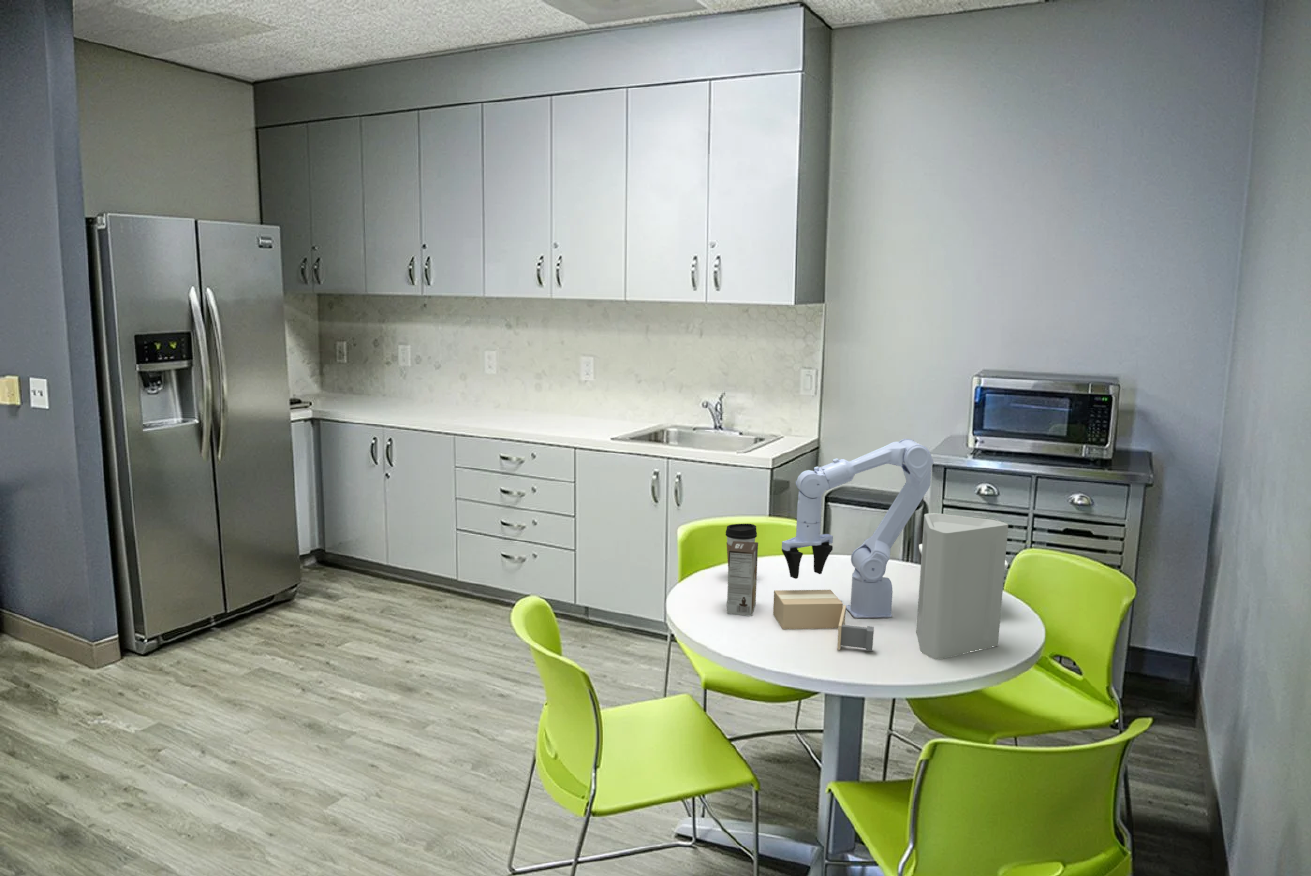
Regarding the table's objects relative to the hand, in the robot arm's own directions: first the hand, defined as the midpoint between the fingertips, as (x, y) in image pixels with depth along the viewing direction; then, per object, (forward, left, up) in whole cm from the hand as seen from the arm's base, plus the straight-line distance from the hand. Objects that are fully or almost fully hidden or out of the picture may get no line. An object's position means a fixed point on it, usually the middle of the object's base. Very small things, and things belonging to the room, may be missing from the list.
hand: (806, 575), depth 225 cm
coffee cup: (+11, -26, -10) cm, 30 cm away
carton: (+1, +6, -9) cm, 11 cm away
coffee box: (+15, -3, -10) cm, 18 cm away
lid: (-7, +19, -9) cm, 22 cm away
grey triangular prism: (-27, +20, -10) cm, 35 cm away
